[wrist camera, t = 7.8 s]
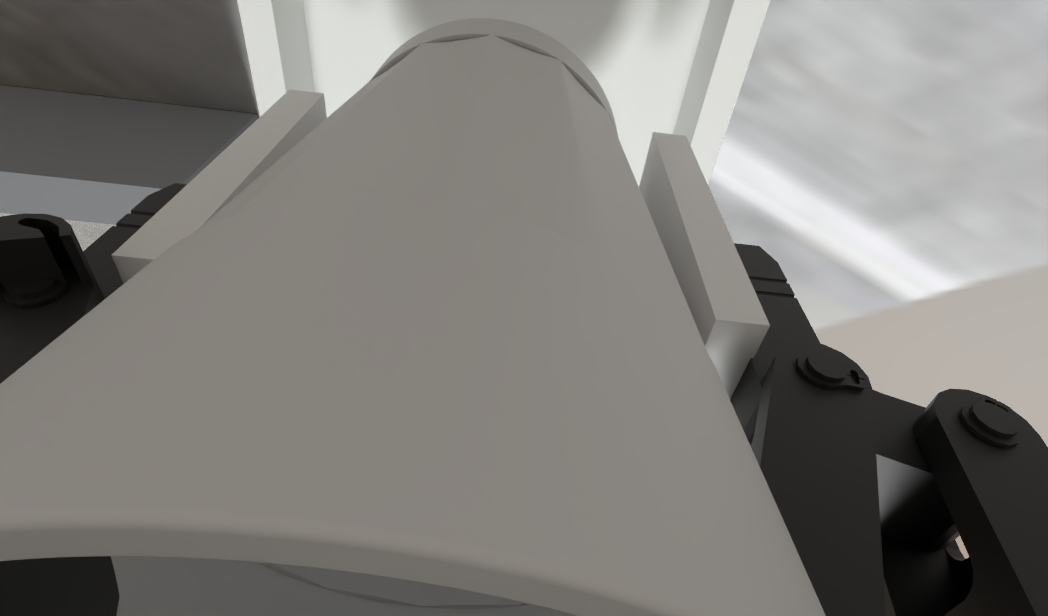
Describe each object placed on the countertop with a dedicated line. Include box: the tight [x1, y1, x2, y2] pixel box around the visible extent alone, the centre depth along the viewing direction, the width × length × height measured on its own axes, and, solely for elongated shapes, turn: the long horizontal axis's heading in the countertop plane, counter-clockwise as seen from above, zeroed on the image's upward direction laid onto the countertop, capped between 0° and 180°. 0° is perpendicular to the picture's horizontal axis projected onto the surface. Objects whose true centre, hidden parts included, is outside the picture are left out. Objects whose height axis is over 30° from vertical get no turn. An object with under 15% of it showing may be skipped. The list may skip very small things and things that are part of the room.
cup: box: [0, 18, 826, 616], centre depth 9 cm, size 8×8×12 cm
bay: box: [0, 85, 258, 225], centre depth 20 cm, size 18×13×5 cm
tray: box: [237, 0, 770, 186], centre depth 16 cm, size 12×12×3 cm
